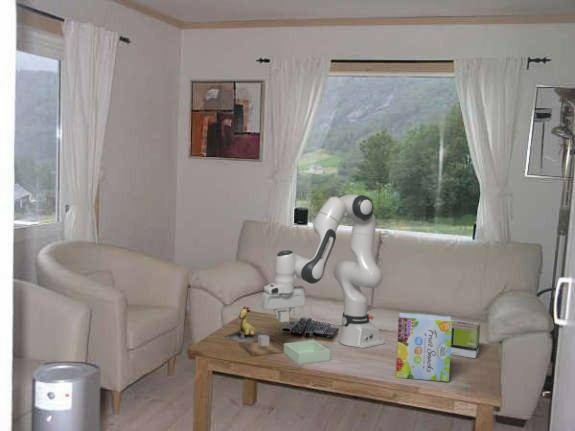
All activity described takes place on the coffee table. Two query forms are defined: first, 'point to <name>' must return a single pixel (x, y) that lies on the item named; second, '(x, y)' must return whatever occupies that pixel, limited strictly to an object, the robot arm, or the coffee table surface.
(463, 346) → the tea box
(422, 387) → the coffee table surface
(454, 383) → the coffee table surface
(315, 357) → the green bin
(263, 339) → the stone cube
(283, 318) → the stone cube
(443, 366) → the snack box
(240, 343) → the walnut tray
